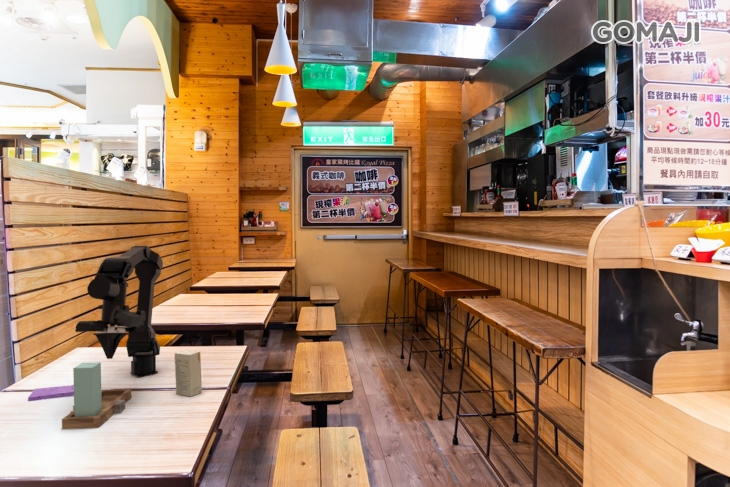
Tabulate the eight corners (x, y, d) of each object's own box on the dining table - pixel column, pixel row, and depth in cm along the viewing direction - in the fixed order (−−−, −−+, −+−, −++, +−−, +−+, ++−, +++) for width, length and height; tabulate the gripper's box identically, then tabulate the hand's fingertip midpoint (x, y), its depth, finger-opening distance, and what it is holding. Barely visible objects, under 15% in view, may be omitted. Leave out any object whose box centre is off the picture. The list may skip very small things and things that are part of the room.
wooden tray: (94, 398, 131) (94, 389, 131) (137, 397, 132) (137, 388, 132) (55, 429, 111) (54, 418, 111) (105, 427, 113) (105, 416, 112)
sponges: (79, 397, 134) (78, 390, 134) (27, 403, 129) (26, 396, 129) (83, 389, 140) (83, 383, 140) (34, 394, 136) (34, 388, 136)
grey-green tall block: (83, 413, 118) (82, 362, 117) (101, 412, 118) (100, 362, 118) (74, 420, 113) (73, 368, 113) (93, 419, 114) (92, 367, 113)
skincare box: (202, 392, 136) (201, 351, 136) (191, 397, 132) (190, 355, 132) (186, 389, 139) (185, 348, 139) (174, 393, 135) (174, 352, 135)
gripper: (110, 298, 120) (105, 360, 117) (161, 302, 137) (158, 356, 134) (76, 300, 123) (70, 360, 120) (130, 304, 140) (126, 357, 137)
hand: (109, 358), depth 128 cm, fingers closed
